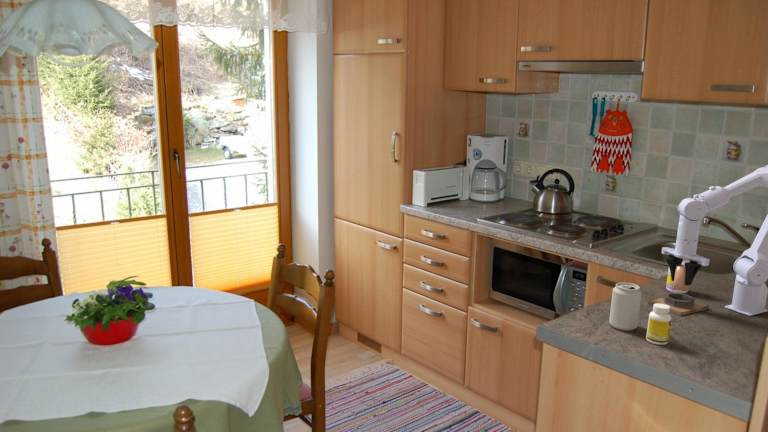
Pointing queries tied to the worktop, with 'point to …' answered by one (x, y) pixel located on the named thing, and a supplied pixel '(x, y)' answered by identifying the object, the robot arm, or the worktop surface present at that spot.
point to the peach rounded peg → (680, 278)
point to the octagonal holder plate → (680, 303)
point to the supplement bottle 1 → (659, 324)
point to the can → (625, 306)
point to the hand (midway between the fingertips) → (681, 282)
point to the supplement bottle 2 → (671, 283)
